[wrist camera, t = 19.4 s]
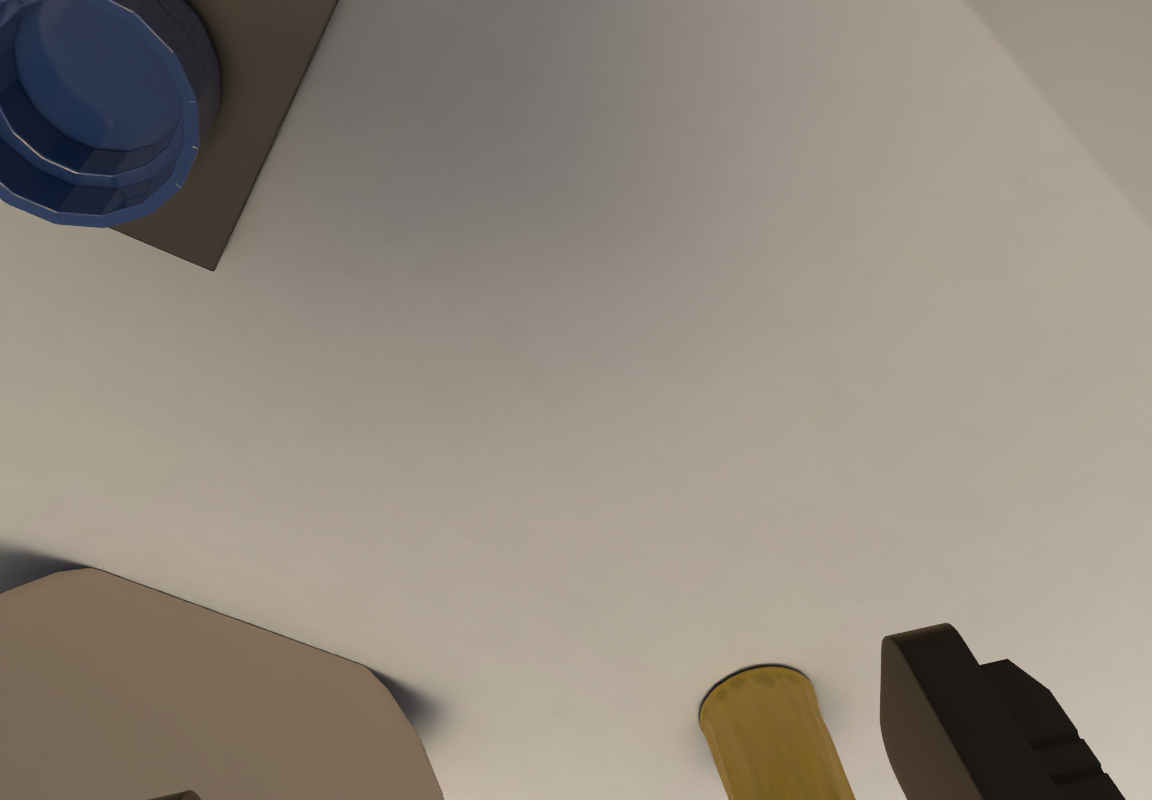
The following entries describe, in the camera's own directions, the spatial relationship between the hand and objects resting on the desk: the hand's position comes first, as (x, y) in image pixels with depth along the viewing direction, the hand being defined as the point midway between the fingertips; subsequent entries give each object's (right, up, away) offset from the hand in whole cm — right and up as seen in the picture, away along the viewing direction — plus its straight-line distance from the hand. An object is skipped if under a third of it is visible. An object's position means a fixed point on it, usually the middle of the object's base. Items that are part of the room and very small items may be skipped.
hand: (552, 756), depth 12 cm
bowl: (-14, +14, +18) cm, 27 cm away
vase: (+9, -12, +41) cm, 43 cm away
